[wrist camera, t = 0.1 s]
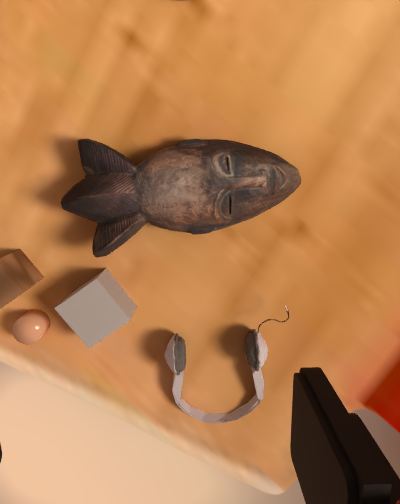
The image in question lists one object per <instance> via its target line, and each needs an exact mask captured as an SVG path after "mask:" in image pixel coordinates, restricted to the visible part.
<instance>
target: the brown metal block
mask: <svg viewBox="0 0 400 504" xmlns="http://www.w3.org/2000/svg"><path fill="white" fill-rule="evenodd" d="M43 278H44V276H43V275H42V274H41V273H40V272H39V270H38V269H37V268H36V267H35V266H34V265H33V263H32V262H31V261H30V260H29V259H28V257H27V256H26V255H25V254H24V253H23V252H22V250H21V249H19V250H17V251H15V252H13V253H10V254H8V255H6V256H4V257H1V258H0V309H1V308H2V307H4V306H5V305H6V304H8V303H9V302H11V301H12V300H14V299H15V298H16V297H18V296H19V295H21V294H22V293H23V292H25V291H26V290H28V289H29V288H30V287H32V286H33V285H34V284H36V283H37V282H38V281H40V280H41V279H43Z"/></svg>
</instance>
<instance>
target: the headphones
mask: <svg viewBox="0 0 400 504" xmlns="http://www.w3.org/2000/svg"><path fill="white" fill-rule="evenodd" d="M285 307H286V306H285ZM286 311H287V313H288V318H289V312H288V310H287V307H286ZM288 318H287V319H288ZM287 319H286V320H287ZM268 320H273V319H268ZM268 320H266V321H268ZM286 320H285V321H286ZM266 321H264V322H266ZM276 321H278V320H276ZM285 321H282V322H285ZM264 322H262V323H264ZM278 322H280V321H278ZM262 323H261V324H262ZM261 324H260V325H261ZM260 325H259V327H260ZM259 327H258V331H259ZM258 331H257V330H256V329H252V332H250V333H249V334H248V335H247V336H246V354H247V360H248V363H249V365H250V366H251V370H252V373H253V378H254V383H255V388H256V394H255V395H254V396H253V397H252V398H251V400H250V401H249V402H248V403H246V404H244V405H242V406H240V407H239V408H237V409H235V410H234V411H232V412H231V413H228V414H209V413H205V412H203V411H201V410H199V409H196V408H194V407H191V406H190V405H189V404H187V403H186V402H185V401H184V400H183V399H182V398H180V397H181V390H182V383H183V372H184V371H183V370H184V369H185V365H186V348H185V342H184V340H183V338H182V337H179V336H178V334H174V335H173V337H172V338H171V339H170V341H169V343H168V345H167V348H166V351H165V354H164V356H165V359H166V362H167V364H168V366H169V367H170V369H171V370H172V371H173V373H174V377H173V387H172V391H173V395H174V398H175V402H176V404H178V406H179V408H180V409H182V410H183V411H184V412H185V413H186V414H188V415H190V416H192V417H194V418H196V419H199V420H201V421H203V422H213V423H223V422H228V421H233V420H237V419H239V418H240V417H242V416H244V415H246V414H248V413H250V412H251V411H252V410H253V409H254V408H255V407H256V406H257V405H258V404H259V403H260V399H261V400H263V389H264V380H263V377H262V371H261V367H262V366H263V364H264V363H265V360H266V358H267V354H268V347H267V344H266V342H265V340H264V339H263V338H262V336H261V334H260V333H259V332H258Z"/></svg>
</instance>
